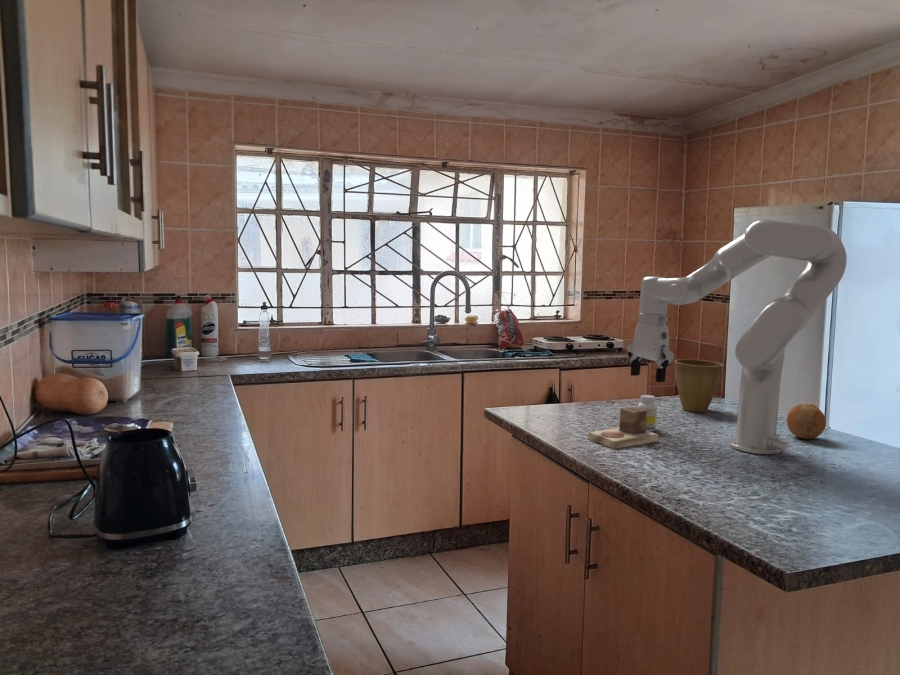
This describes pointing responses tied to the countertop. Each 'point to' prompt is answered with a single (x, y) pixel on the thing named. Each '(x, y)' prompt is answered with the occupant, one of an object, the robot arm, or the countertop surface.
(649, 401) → the supplement bottle
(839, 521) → the countertop surface
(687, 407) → the plant pot
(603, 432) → the board
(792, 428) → the onion
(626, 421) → the walnut block
